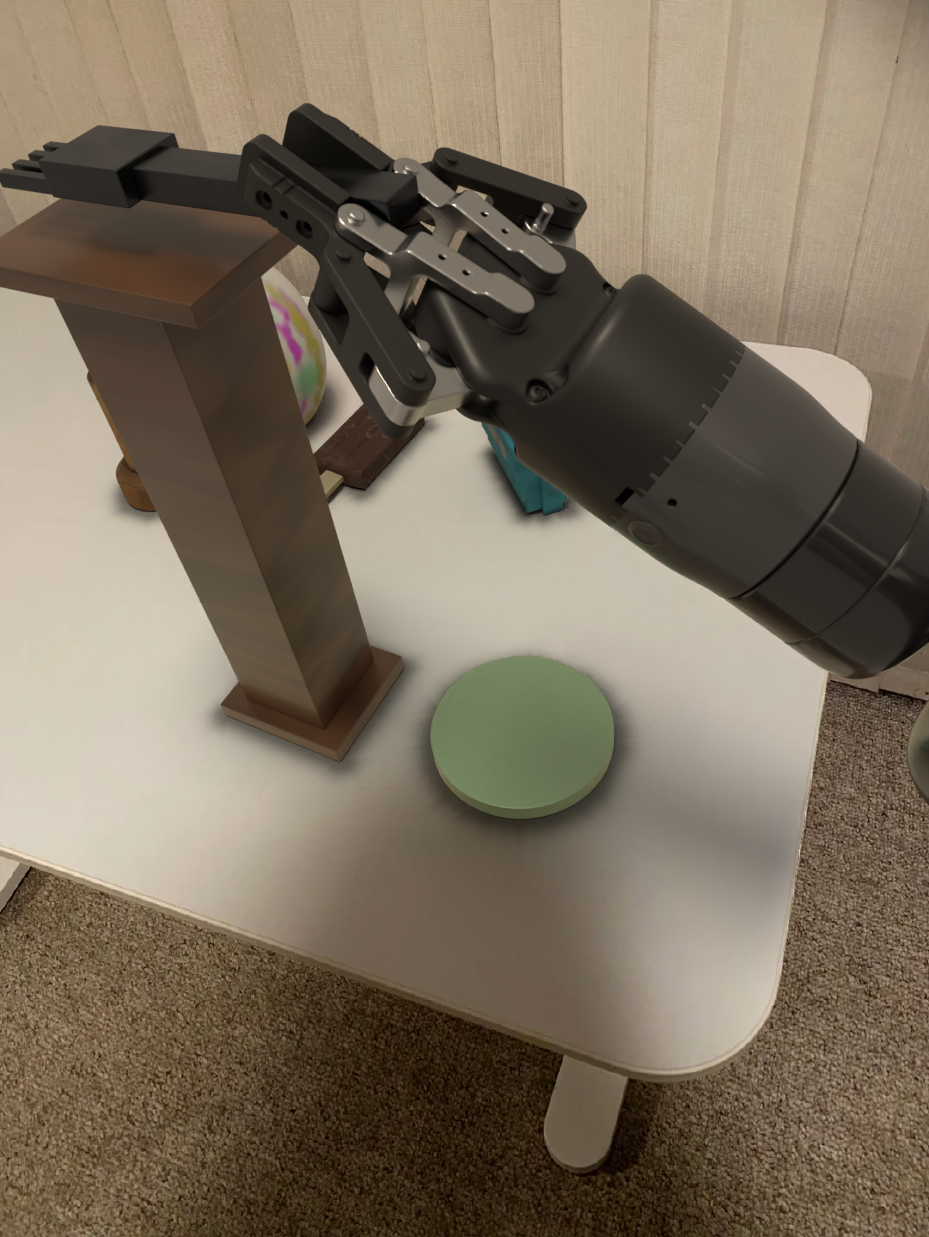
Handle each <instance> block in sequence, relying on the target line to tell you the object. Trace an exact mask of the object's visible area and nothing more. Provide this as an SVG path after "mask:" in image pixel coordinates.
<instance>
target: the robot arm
mask: <svg viewBox="0 0 929 1237" xmlns="http://www.w3.org/2000/svg"><path fill="white" fill-rule="evenodd" d="M240 155H241V161H240V167H239V172H238V178H237V186H238V189H239V192H240V193H241V195H242V196H243V201H244V202H245V203H246V205H247V206H248V207H249V208H250V210H251V211H252V212H253V213H255V214H256V215H258V216H259V217H260V218H262V219H263V220H264V221H265V220H266V221H267V223H269V224H270V225H271V226H273V227H274V228H277V229H278V231H280V232H281V233H283V234H284V235H285V236H287V237H288V238H290V239H291V240H292V241H294V242H295V243H297V244H298V246H299V247H301V248H302V249H303V250H305V251H306V252H307V253H309V254H310V255H312V256H313V257H314V259H315V260H316V261H317V264H318V265H319V270H318V273H317V277H316V280H315V283H314V287H313V290H312V292H310V297H309V300H308V303H307V306H308V311H309V313H310V315H311V317H312V318H313V320H314V322H315V323H316V325H317V327H318V328H319V331H320V333H321V336H323V337H322V338H324V340H325V342H326V343H327V345H328V347H329V349H330V351H331V352H332V353H333V355H334V357H335V359H336V360H337V362H338V363H339V365H340V367H341V368H342V370H343V372H344V374H345V375H346V377H347V378H348V380H349V382H350V383H351V386H352V387H353V388H354V391H355V392H356V393H357V395H358V397H359V399H360V401H361V402H362V404H364V405H365V407H366V408H367V410H368V412H369V413H370V415H371V417H372V418H373V420H374V422H375V423H376V425H377V427H378V428H379V430H380V431H381V432H382V433H383V434H384V435H385V436H387V437H389V438H392V439H398V440H400V439H405V438H407V437H408V436H409V435H410V434H411V432H412V430H413V428H414V426H415V424H416V422H417V421H418V420H419V419H421V418H424V419H425V418H428V417H431V416H435V415H439V414H442V413H445V412H449V411H452V410H456V411H457V412H458V413H459V414H460V415H462V416H463V417H464V418H467V419H469V420H471V421H473V422H476V423H477V422H478V423H480V424H481V423H485V424H489V425H492V426H494V427H497V428H499V429H501V430H503V431H504V432H506V433H507V434H508V435H509V436H510V437H511V438H512V440H513V441H514V444H515V445H514V453H515V456H516V458H517V460H518V461H519V462H520V463H521V464H523V465H524V466H525V467H527V468H528V469H530V470H531V471H532V472H534V473H535V474H537V475H538V476H539V477H541V478H542V479H544V480H545V481H546V482H548V483H549V484H551V485H552V486H553V487H555V488H556V489H558V490H559V491H560V492H562V493H563V494H565V495H566V496H567V498H568V499H570V500H571V501H573V502H574V503H576V504H577V505H578V506H580V507H581V508H583V509H584V510H586V511H587V512H589V513H590V514H592V516H594V517H595V518H597V520H598V519H599V520H600V521H601V522H602V523H604V524H605V525H607V526H608V527H609V528H611V529H612V530H614V531H615V532H616V533H618V534H619V535H621V536H622V537H623V538H625V539H626V540H628V541H629V542H630V543H632V544H633V545H634V546H636V547H637V548H638V549H640V550H641V551H643V552H645V553H646V554H647V555H649V556H650V557H651V558H652V559H654V560H656V561H657V562H659V564H661V565H663V566H665V567H666V568H668V569H669V570H671V571H673V572H674V573H676V574H678V575H680V576H682V577H684V578H686V579H688V580H690V581H691V582H694V583H695V584H698V585H700V586H701V587H703V588H705V589H707V590H709V591H710V592H712V593H713V594H714V595H716V596H718V597H719V598H722V599H723V600H724V601H726V602H727V603H729V604H730V605H731V606H733V607H734V608H736V609H737V610H738V611H740V612H741V613H743V614H744V615H746V616H747V617H748V618H750V619H751V620H752V621H753V622H755V623H757V625H760V626H761V627H762V628H763V629H765V630H766V631H768V632H769V633H770V634H772V635H773V636H775V638H778V640H780V641H782V642H783V643H784V644H785V645H787V646H788V647H789V648H791V649H792V650H794V651H795V652H797V653H798V654H799V655H801V656H802V657H804V658H805V659H807V660H808V661H810V662H811V663H812V664H814V665H816V666H817V667H819V668H820V669H822V670H824V671H827V672H828V673H830V674H832V675H835V676H837V677H841V678H845V679H848V680H866V679H871V678H875V677H878V676H880V675H882V674H885V673H888V672H889V671H892V670H893V669H895V668H896V667H898V666H899V665H901V664H903V663H905V662H906V661H908V660H909V659H910V658H912V657H913V656H915V655H916V654H917V653H918V652H919V651H921V650H923V649H924V648H925V647H926V646H927V645H928V644H929V488H928V487H926V486H925V485H924V484H922V483H920V482H919V481H918V480H916V479H915V478H914V477H912V476H910V475H909V473H907V472H905V471H904V470H903V469H901V468H899V467H898V466H897V465H896V464H894V463H893V462H891V461H890V460H888V459H887V458H886V457H885V456H884V455H882V454H880V453H879V452H878V451H876V450H875V449H874V448H873V447H871V446H870V445H868V444H867V443H865V442H864V441H862V440H861V439H860V438H858V437H857V436H856V435H855V434H854V433H853V432H852V431H850V430H849V429H848V428H847V427H846V426H844V425H843V424H842V423H841V422H840V421H839V420H838V419H837V418H835V416H833V415H832V414H831V413H830V412H829V411H828V409H826V407H824V406H823V405H822V403H821V402H820V401H819V400H817V399H816V397H814V396H813V395H812V394H811V393H810V392H809V391H808V390H806V389H805V388H804V387H802V385H801V384H799V383H798V382H797V381H795V380H793V379H792V378H791V377H790V376H788V375H787V374H786V373H784V372H783V371H781V370H780V369H779V368H777V367H776V366H774V365H773V364H772V363H770V362H769V361H768V360H766V359H765V358H763V357H762V356H761V355H759V353H756V351H754V350H752V349H751V348H750V347H748V346H747V345H746V344H745V343H743V342H741V341H740V340H739V339H738V338H736V337H735V336H733V335H732V334H731V333H729V332H728V331H727V330H725V329H724V328H722V327H721V326H720V325H719V324H717V323H716V322H714V321H713V319H711V318H709V317H707V315H705V314H703V313H702V312H701V311H700V310H698V309H696V308H695V307H694V306H692V305H691V304H690V303H689V302H687V301H686V300H684V299H683V298H681V296H679V295H677V294H676V293H675V292H673V291H672V290H671V289H669V288H668V287H667V286H665V285H664V284H663V283H662V282H660V281H658V280H657V279H655V278H654V277H653V276H651V275H649V274H646V273H638V274H635V275H633V276H631V277H629V278H628V279H627V280H626V281H625V282H624V283H623V285H622V286H621V287H620V288H616V287H614V286H613V285H612V284H611V283H610V282H609V281H607V280H606V279H605V278H604V276H603V275H602V274H601V273H600V271H599V270H598V269H597V268H596V266H595V265H594V263H593V262H592V260H591V259H590V258H589V257H588V256H586V254H584V253H583V252H581V251H580V250H578V249H577V239H576V238H577V237H576V229H577V227H578V225H579V223H580V222H581V220H582V218H583V216H584V215H585V213H586V211H587V209H588V203H587V201H586V199H585V198H584V197H583V196H582V195H581V194H580V193H579V192H577V191H575V190H573V189H570V188H568V187H565V186H564V187H563V186H561V185H558V184H555V183H552V182H550V181H547V180H544V179H542V178H538V177H535V176H533V175H529V174H526V173H523V172H521V171H518V170H515V169H513V168H509V167H507V166H503V165H500V164H497V163H494V162H492V161H488V160H486V159H483V158H480V157H477V156H474V155H471V154H468V153H465V152H462V151H460V150H456V149H453V148H451V147H447V146H446V147H445V146H442V147H438V148H437V149H436V150H434V154H433V156H432V159H431V160H428V161H426V162H421V163H420V162H418V161H417V160H416V159H412V158H410V157H398V158H397V159H394V158H393V157H391V156H390V155H388V154H387V153H385V152H384V151H383V150H381V149H380V148H378V147H377V146H376V145H374V144H373V143H372V142H370V141H369V140H368V139H366V138H365V137H364V136H360V133H357V132H356V131H355V130H354V129H351V128H350V126H348V125H347V124H345V123H344V122H343V121H341V120H340V119H339V118H338V117H335V116H332V115H330V114H327V113H325V112H324V111H322V110H321V109H319V108H318V106H315V105H314V104H313V103H310V102H304V103H301V105H299V106H298V107H297V108H295V109H294V110H292V111H291V112H290V113H289V114H288V116H287V120H286V124H285V129H284V134H283V138H282V143H279V142H278V141H277V140H276V139H274V138H272V137H271V136H270V135H268V134H266V133H259V134H257V135H256V136H255V137H253V138H252V139H250V140H249V141H247V142H246V143H245V144H243V147H242V150H241V154H240ZM307 163H315V164H324V165H332V166H341V167H350V168H359V169H367V170H376V171H386V172H394V173H403V174H412V175H416V177H417V184H418V191H419V198H420V205H421V210H420V211H419V212H418V213H417V214H416V215H415V216H414V217H413V218H412V219H411V220H410V221H409V222H408V223H407V224H405V225H404V226H403V227H402V228H401V229H400V230H398V229H396V228H395V227H393V226H392V225H390V224H389V223H387V222H386V221H384V220H382V219H381V218H379V217H378V216H376V215H375V214H373V213H371V212H370V211H368V210H367V209H365V208H364V207H362V206H359V205H356V204H348V203H349V200H350V197H351V195H350V194H349V193H347V192H346V191H345V190H343V189H342V188H340V187H339V186H338V185H336V184H335V183H333V182H332V181H331V180H329V179H328V178H327V177H325V176H324V175H322V174H321V173H320V172H318V171H317V170H315V169H314V168H313V167H311V166H310V165H309V164H307ZM459 187H461V188H464V189H465V190H463V191H461V192H457V191H458V188H459ZM478 193H480V194H483V195H484V196H485V195H486V196H485V199H484V198H483V197H482V196H481V195H479V194H478ZM424 224H425V225H427V226H431V227H434V229H433V232H432V230H430V229H429V228H428V227H426V226H425V225H424ZM366 254H369V255H370V256H372V257H373V258H374V259H376V260H378V261H379V262H381V263H383V265H385V266H386V267H387V268H388V269H389V272H390V274H389V277H387V276H386V275H385V274H382V273H381V272H380V271H378V270H376V269H375V268H373V267H371V266H370V265H369V264H367V262H366V261H365V256H366ZM420 279H422V281H423V282H424V285H423V287H422V290H421V291H420V294H419V297H418V299H417V302H416V303H415V300H414V295H415V294H414V293H415V292H416V289H417V286H418V284H419V281H420ZM905 750H906V766H907V769H908V772H909V774H910V778H911V780H912V783H913V785H914V787H915V789H916V791H917V793H918V794H919V795H920V797H921V798H922V800H923V801H924V802H925V803H926V805H927V806H928V807H929V699H928V700H927V701H926V703H925V704H924V705H923V707H922V708H921V710H920V711H919V713H918V714H917V716H916V718H915V720H914V721H913V723H912V726H911V727H910V730H909V734H908V738H907V742H906V749H905Z"/></svg>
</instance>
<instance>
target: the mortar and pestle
mask: <svg viewBox="0 0 929 1237" xmlns="http://www.w3.org/2000/svg"><path fill="white" fill-rule="evenodd" d="M86 380H87V383H88V384H89V386H90V388H91V391H92V393H93V395H94V396H95V398H96V400H97V402H98V404H99V407H100V408H101V410H102V413H103V415H104V417H105V419H106V421H107V423H108V425H109V427H110V429H111V432H112V434H113V436H114V438H115V440H116V442H117V444H118V446H119V450H120V451H121V454H122V455H123V456H122V458H121V459H120V461H119V462H118V464H117V467H116V469H115V478H116V481H117V483H118V486H119V488H120V489H121V492H122V494H123V496H124V499H125V500H126V501H127V503H128V504H129V506H131V507H133V508H135V509H138V510H141V511H145V512H157V511H156V509H155V507H154V505H153V503H152V501H151V499H150V497H149V495H148V493H147V491H146V489H145V487H144V485H143V483H142V481H141V478H140V476H139V474H138V472H137V470H136V468H135V466H134V464H133V462H132V460H131V458H130V456H129V454H128V452H127V450H126V447H125V445H124V443H123V441H122V439H121V437H120V435H119V433H118V431H117V429H116V427H115V425H114V423H113V421H112V419H111V416H110V414H109V412H108V410H107V408H106V406H105V404H104V402H103V400H102V398H101V396H100V394H99V392H98V390H97V388H96V385H95V383H94V381H93V379H92V377H91V375H90V373H89V371H88V370H87V374H86Z"/></svg>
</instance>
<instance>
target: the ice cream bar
mask: <svg viewBox="0 0 929 1237" xmlns="http://www.w3.org/2000/svg"><path fill="white" fill-rule="evenodd" d="M425 422H426V420H425V417H424V418H421V419H419V420H418V421H417V422H416V424H415V426H414V428H413V430H412V432H411V434H410V435H409V436H408V437H407V438H405V439H400V440H398V439H392V438H389V437H387V436H385V435H384V434H383V433H382V432H381V431H380V430H379V428H378V427H377V425H376V423H375V422H374V420H373V418H372V417H371V415H370V413H369V412H368V410H367V408H366V407H365V405H364V403H362V404H361V405H360V406H359V408H357V410H355V412H353V414H352V415H350V417H348V419H346V420H345V422H344V423H343V424H341V425H340V427H338V429H336V430H335V432H334V433H333V434H332V435H331V436H329V437H328V438H327V440H326V441H324V443H322V444H321V445H320V447H318V448H317V449H316V451H314V452H313V454H314V458H315V461H316V464H317V468H318V471H319V475H320V478H321V481H322V485H323V488H324V492H325V495H326V498H327V499H328V498H329V497H330V496H331V495H332V494H333V493H334V491H336V489H338V487H339V486H341V484H342V483H343V484H345V485H348V486H351V487H354V488H359V489H364V490H365V489H366V488H367V487H368V486H369V485H370V484H371V483H372V482H373V480H374V479H376V477H377V476H378V475H379V474H380V473H381V472H382V471H383V469H385V468H386V466H387V465H388V464H389V463H390V462H391V461H392V460H393V459H394V457H396V455H397V454H398V453H399V452H400V451H401V450H402V449H403V448H404V447H405V446H406V445H407V444H408V442H410V440H411V439H412V438H413V437H414V436H415V435H417V433H418V432H419V431H420V430H421V429H422V428H423V426H424V424H425Z"/></svg>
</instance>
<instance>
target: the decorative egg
mask: <svg viewBox="0 0 929 1237" xmlns="http://www.w3.org/2000/svg"><path fill="white" fill-rule="evenodd" d="M261 278H262V282H263V285H264V288H265V292H266V295H267V299H268V302H269V305H270V309H271V312H272V315H273V319H274V322H275V326H276V329H277V332H278V336H279V339H280V343H281V346H282V349H283V353H284V356H285V359H286V363H287V366H288V370H289V373H290V376H291V380H292V383H293V387H294V390H295V393H296V397H297V400H298V403H299V407H300V410H301V414H302V417H303V420H304V424H305V426H307V424H308V423H309V422H310V421H311V420H312V419H313V418H314V417H315V414H316V412H317V411H318V409H319V407H320V404H321V402H322V400H323V396H324V394H325V390H326V383H327V374H328V370H327V369H328V368H327V355H326V349H325V344H324V341H323V337H322V336H323V335H322V333H321V332H320V330H319V328H318V327H317V325H316V323H315V322H314V320H313V318H312V317H311V315H310V313H309V311H308V303H307V302H306V301H305V299H304V298H303V296H302V295H301V293H300V292H299V291H298V290H297V288H296V287H295V285H293V283H292V282H291V281H290V280H289V279H288V278H287V277H286V276H285V275H284V274H283V273H281V271H280V270H278V269H277V268H275V266H273V267H272V268H271V269H270V270H268V271H267V272H266V273H265V274H264V275H263V276H261Z"/></svg>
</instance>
